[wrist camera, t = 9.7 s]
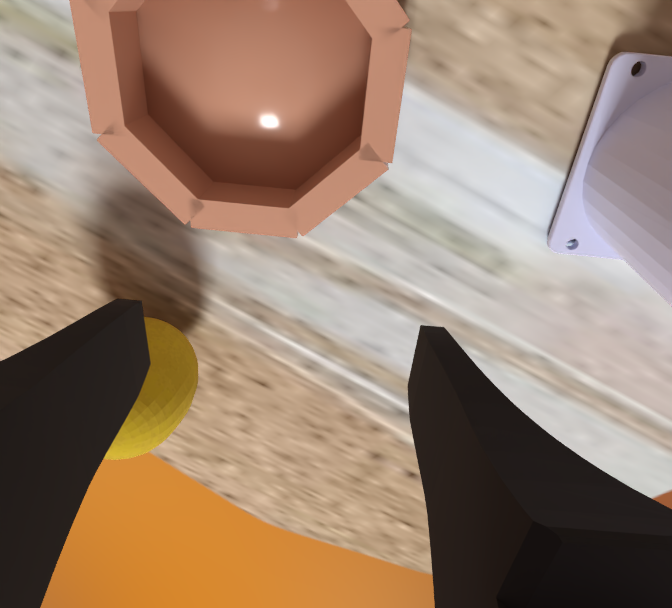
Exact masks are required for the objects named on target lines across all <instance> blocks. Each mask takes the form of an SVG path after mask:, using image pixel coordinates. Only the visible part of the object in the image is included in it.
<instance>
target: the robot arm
mask: <svg viewBox="0 0 672 608" xmlns="http://www.w3.org/2000/svg"><path fill="white" fill-rule="evenodd" d="M639 61H640V63H641V69H640V71H639V72H638V73H637V74H636V75H633V76H632V74H631V68H632V67H633V65H634V64H635V63H637V62H639ZM571 239H575V242H574V244H573V245H571V246H566V244H567V242H568V241H570V240H571ZM547 245H548V247H549V248H550V250H551V251H552V252H555V253H560V254H570V255H580V256H590V257H600V258H610V259H620V260H624V261H625V262H626V263H627V264H628V265H629V266H630V267H631V268H632V269H633V270H634V271H636V272H637V273H638V274H639V275H640V276H641V277H642V278H643V279H644V280H645V281H646V282H647V283H648V284H649V285H650V286H651V287H652V288H653V289H654V290H655V291H656V292H657V293H658V294H659V295H660V296H661V297H662V298H663V299H664V300H665V301H666V302H667V303H668V304H669V305H670V306H671V307H672V56H664V55H654V54H645V53H635V52H620V53H618V54H616V55H615V56H614V57H613V58H612V59H611V60H610V61H609V63H608V65H607V68H606V71H605V74H604V76H603V79H602V82H601V85H600V88H599V91H598V94H597V97H596V100H595V103H594V105H593V108H592V111H591V114H590V117H589V120H588V123H587V126H586V129H585V132H584V134H583V137H582V140H581V143H580V146H579V149H578V152H577V155H576V158H575V160H574V163H573V166H572V169H571V172H570V175H569V178H568V181H567V184H566V187H565V189H564V192H563V195H562V198H561V201H560V204H559V207H558V210H557V213H556V215H555V218H554V221H553V224H552V227H551V230H550V233H549V236H548V239H547ZM150 365H151V361H150V355H149V348H148V341H147V334H146V327H145V321H144V314H143V307H142V301H137V300H126V299H116V300H114V301H112V302H110V303H108V304H106V305H104V306H103V307H101V308H99V309H97V310H95V311H94V312H92V313H90V314H88V315H87V316H85V317H83V318H81V319H80V320H78V321H76V322H74V323H73V324H71V325H69V326H67V327H65V328H64V329H62V330H60V331H58V332H57V333H55V334H53V335H51V336H49V337H48V338H46V339H44V340H42V341H40V342H38V343H36V344H34V345H32V346H30V347H28V348H26V349H24V350H22V351H21V352H19V353H17V354H15V355H13V356H11V357H9V358H7V359H5V360H2V361H0V608H40V607H41V604H42V601H43V598H44V596H45V593H46V591H47V588H48V585H49V582H50V580H51V577H52V574H53V572H54V569H55V566H56V564H57V561H58V559H59V556H60V554H61V551H62V549H63V546H64V544H65V541H66V539H67V536H68V534H69V531H70V529H71V526H72V524H73V521H74V519H75V517H76V514H77V512H78V510H79V508H80V505H81V503H82V500H83V498H84V496H85V494H86V491H87V489H88V487H89V485H90V483H91V481H92V479H93V477H94V475H95V473H96V471H97V469H98V467H99V466H100V464H101V462H102V460H103V458H104V457H105V455H106V453H107V451H108V450H109V448H110V446H111V444H112V443H113V441H114V439H115V437H116V436H117V434H118V432H119V430H120V429H121V427H122V425H123V423H124V422H125V420H126V418H127V416H128V414H129V413H130V411H131V409H132V407H133V405H134V404H135V402H136V400H137V398H138V396H139V393H140V391H141V389H142V386H143V384H144V381H145V378H146V376H147V373H148V370H149V367H150ZM408 400H409V415H410V423H411V428H412V434H413V439H414V444H415V449H416V454H417V459H418V464H419V469H420V474H421V479H422V484H423V489H424V494H425V501H426V507H427V514H428V525H429V536H430V547H431V559H432V572H433V585H434V600H435V608H672V509H670V508H668V507H666V506H664V505H662V504H660V503H659V502H657V501H655V500H653V499H651V498H649V497H647V496H645V495H644V494H642V493H640V492H638V491H636V490H634V489H632V488H630V487H629V486H627V485H625V484H624V483H622V482H620V481H619V480H617V479H615V478H614V477H612V476H610V475H609V474H607V473H605V472H604V471H602V470H600V469H599V468H597V467H596V466H594V465H593V464H591V463H590V462H588V461H587V460H585V459H583V458H582V457H581V456H579V455H578V454H576V453H575V452H573V451H572V450H571V449H569V448H568V447H566V446H565V445H564V444H562V443H561V442H559V441H558V440H557V439H555V438H554V437H553V436H551V435H550V434H549V433H547V432H546V431H545V430H544V429H542V428H541V427H540V426H539V425H538V424H536V423H535V422H534V421H533V420H532V419H530V418H529V417H528V416H527V415H526V414H524V413H523V412H522V411H521V410H520V409H519V408H518V407H517V406H515V405H514V404H513V403H512V402H511V401H510V400H509V399H508V398H507V397H506V396H505V395H504V394H503V393H502V392H501V391H500V390H499V389H498V388H497V387H496V386H495V385H494V384H493V383H492V382H491V381H490V380H489V379H488V378H487V377H486V376H485V374H484V373H483V372H482V371H481V370H480V369H479V368H478V367H477V366H476V364H475V363H474V362H473V361H472V360H471V359H470V358H469V356H468V355H467V354H466V353H465V352H464V350H463V349H462V348H461V347H460V346H459V344H458V343H457V342H456V341H455V340H454V338H453V337H452V336H451V335H450V334H449V332H448V331H447V330H446V329H445V328H444V327H435V326H424V325H421V326H420V331H419V335H418V340H417V345H416V349H415V354H414V359H413V363H412V368H411V373H410V377H409V382H408Z"/></svg>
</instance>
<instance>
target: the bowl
mask: <svg viewBox="0 0 672 608" xmlns="http://www.w3.org/2000/svg"><path fill="white" fill-rule="evenodd" d="M69 1H70V6H71V12H72V18H73V24H74V29H75V35H76V41H77V46H78V52H79V58H80V64H81V69H82V75H83V81H84V86H85V92H86V98H87V104H88V109H89V115H90V121H91V127H92V132H93V133H96V134H101V136H100V137H99V138H98V139H97V141H98V142H99V143H100V144H101V145H102V146H103V147H104V148H105V149H106V150H107V151H108V152H109V153H111V154H112V155H113V156H114V157H115V158H116V159H117V160H118V161H119V162H120V163H121V164H122V165H123V166H124V167H125V168H126V169H127V170H128V171H129V172H130V173H131V174H132V175H133V176H135V177H136V178H137V179H138V180H139V181H140V182H141V183H142V184H143V185H144V186H145V187H146V188H147V189H148V190H149V191H150V192H151V193H152V194H153V195H154V196H155V197H156V198H157V199H159V200H160V201H161V202H162V203H163V204H164V205H165V206H166V207H167V208H168V209H169V210H170V211H171V212H172V213H173V214H174V215H175V216H176V217H177V218H178V219H179V220H180V221H181V222H183V223H184V224H186V223H187V222H189V221H191V228H199V229H209V230H219V231H230V232H240V233H250V234H260V235H270V236H280V237H290V238H297V236H298V232H299V233H300V234H301V235H302V236H304V235H305V234H307V233H308V232H309V231H310V230H312V229H313V228H314V227H316V226H317V225H318V224H319V223H321V222H322V221H323V220H325V219H326V218H327V217H328V216H330V215H331V214H332V213H333V212H335V211H336V210H337V209H339V208H340V207H341V206H342V205H344V204H345V203H346V202H347V201H349V200H350V199H351V198H353V197H354V196H355V195H356V194H358V193H359V192H360V191H361V190H363V189H364V188H365V187H367V186H368V185H369V184H370V183H372V182H373V181H374V180H375V179H377V178H378V177H379V176H381V175H382V174H383V173H384V172H386V171H387V170H388V163H392V161H393V154H394V147H395V140H396V133H397V127H398V120H399V113H400V106H401V99H402V92H403V86H404V79H405V72H406V65H407V58H408V52H409V45H410V38H411V31H412V29H410V28H408V27H405V26H404V25H405V24H406V23H408V22H409V21H410V20H409V18H408V17H407V15H406V14H405V12H404V11H403V9H402V7H401V6H400V4H399V3H398V1H397V0H69Z"/></svg>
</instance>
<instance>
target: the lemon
mask: <svg viewBox="0 0 672 608" xmlns="http://www.w3.org/2000/svg"><path fill="white" fill-rule="evenodd" d="M144 321H145V327H146V334H147V341H148V348H149V355H150V361H151V365H150V367H149V370H148V373H147V376H146V378H145V381H144V384H143V386H142V389H141V391H140V393H139V396H138V398H137V400H136V402H135V404H134V405H133V407H132V409H131V411H130V413H129V414H128V416H127V418H126V420H125V422H124V423H123V425H122V427H121V429H120V430H119V432H118V434H117V436H116V437H115V439H114V441H113V443H112V444H111V446H110V448H109V450H108V451H107V453H106V455H105V457H104V459H113V460H116V459H127V458H132V457H135V456H139V455H142V454H145V453H146V452H149V451H150V450H152V449H153V448H155V447H157V446H158V445H159V444H161V443H162V442H163V441H164V440H165V439H166V438H167V437H168V436H169V435H170V434H171V433H172V432H173V431H174V429H175V428H176V427H177V426H178V425H179V423H180V422H181V421H182V419H183V418H184V416H185V415H186V413H187V412H188V410H189V408H190V405H191V403H192V400H193V397H194V394H195V391H196V388H197V383H198V362H197V358H196V355H195V352H194V349H193V347H192V345H191V344H190V342H189V341H188V339H187V338H186V337H185V335H184V334H182V333H181V332H180V331H179V330H178V329H177V328H175V327H174V326H172V325H171V324H169V323H167V322H164V321H162V320H159V319H155V318H150V317H144Z"/></svg>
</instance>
